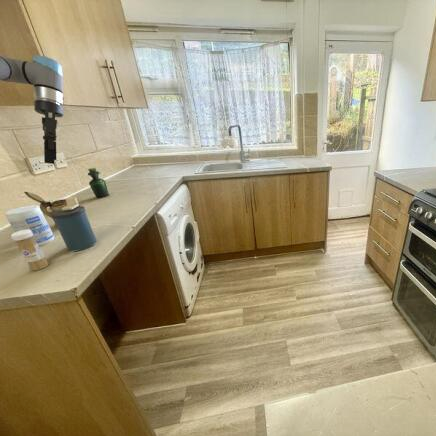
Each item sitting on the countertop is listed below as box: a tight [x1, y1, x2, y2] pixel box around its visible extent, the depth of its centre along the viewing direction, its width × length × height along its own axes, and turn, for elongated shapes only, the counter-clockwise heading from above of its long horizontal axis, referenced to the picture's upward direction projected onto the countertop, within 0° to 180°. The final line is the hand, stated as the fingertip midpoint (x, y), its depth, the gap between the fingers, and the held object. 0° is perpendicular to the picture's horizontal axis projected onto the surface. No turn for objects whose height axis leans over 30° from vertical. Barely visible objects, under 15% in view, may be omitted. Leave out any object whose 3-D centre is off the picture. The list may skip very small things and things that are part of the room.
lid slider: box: [61, 197, 80, 210], centre depth 90 cm, size 4×3×3 cm
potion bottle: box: [87, 167, 110, 199], centre depth 150 cm, size 8×8×18 cm
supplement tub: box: [4, 205, 55, 247], centre depth 96 cm, size 10×10×15 cm
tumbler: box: [51, 205, 97, 253], centre depth 93 cm, size 10×10×15 cm
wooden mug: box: [23, 191, 67, 227], centre depth 112 cm, size 9×14×18 cm, turn 126°
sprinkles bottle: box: [10, 230, 50, 271], centre depth 80 cm, size 5×5×13 cm
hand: (50, 161), depth 91 cm, fingers open, 13 cm apart
